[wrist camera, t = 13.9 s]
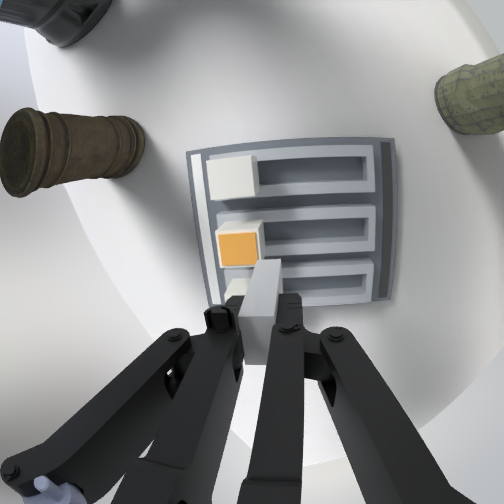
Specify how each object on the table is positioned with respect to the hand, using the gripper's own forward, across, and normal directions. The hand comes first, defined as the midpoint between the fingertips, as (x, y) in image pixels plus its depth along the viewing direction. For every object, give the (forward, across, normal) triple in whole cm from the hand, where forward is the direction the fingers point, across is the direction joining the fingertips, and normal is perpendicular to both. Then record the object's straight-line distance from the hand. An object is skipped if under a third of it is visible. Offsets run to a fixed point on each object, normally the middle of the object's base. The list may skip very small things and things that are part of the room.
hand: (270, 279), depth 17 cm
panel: (+16, +2, 0) cm, 17 cm away
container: (+17, -21, +13) cm, 30 cm away
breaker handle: (+14, -4, 0) cm, 15 cm away
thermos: (+17, +26, +16) cm, 35 cm away
